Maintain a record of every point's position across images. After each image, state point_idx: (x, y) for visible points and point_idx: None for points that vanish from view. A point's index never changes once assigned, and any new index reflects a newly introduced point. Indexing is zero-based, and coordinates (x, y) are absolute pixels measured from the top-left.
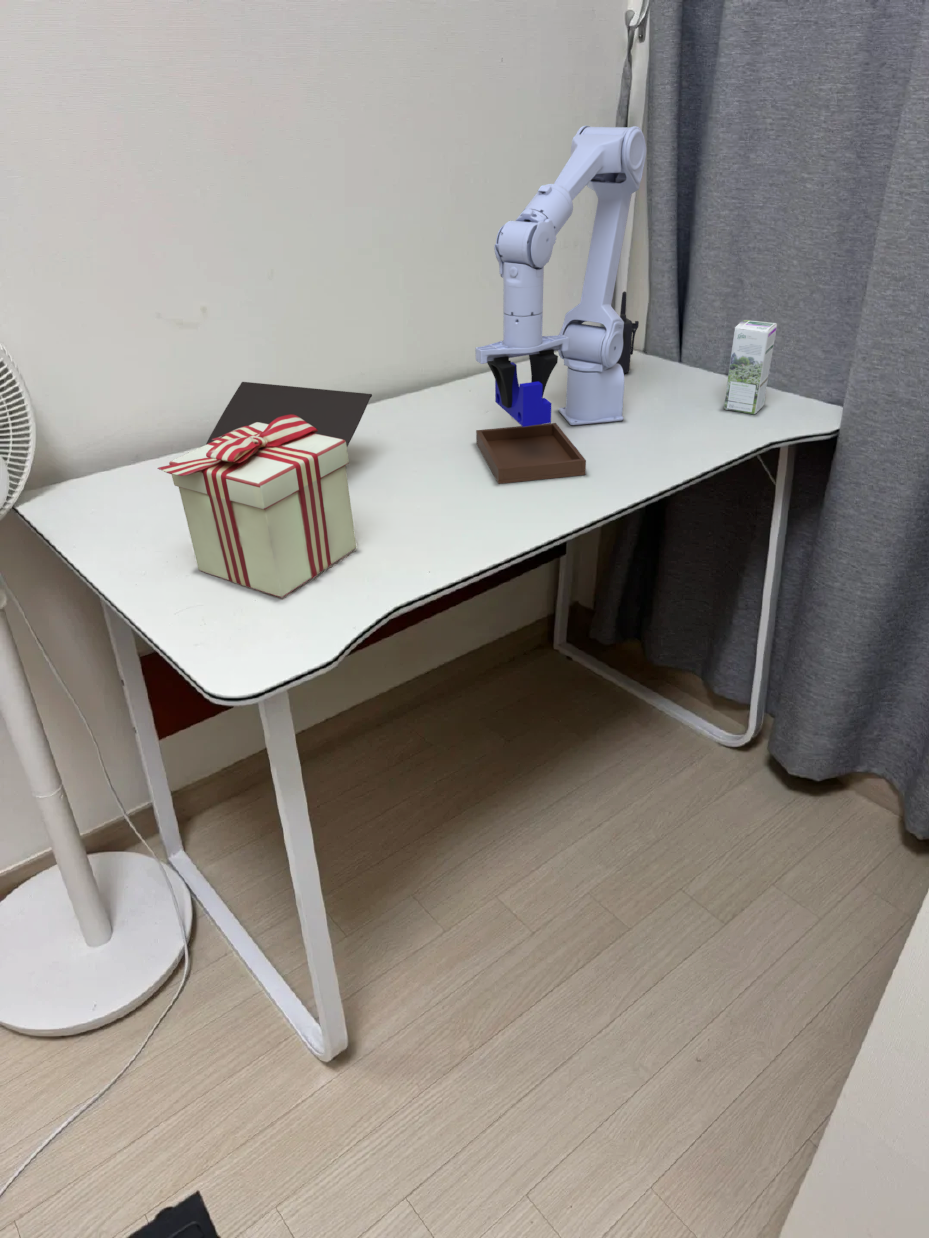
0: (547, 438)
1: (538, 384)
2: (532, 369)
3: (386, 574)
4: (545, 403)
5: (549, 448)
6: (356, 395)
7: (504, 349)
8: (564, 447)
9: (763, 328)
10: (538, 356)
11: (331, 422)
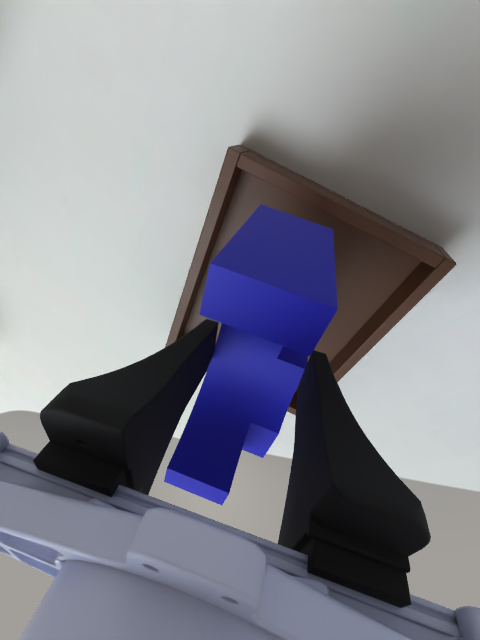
0: (392, 265)
1: (211, 499)
2: (315, 435)
3: (16, 383)
4: (249, 450)
5: (339, 310)
6: None
7: (47, 573)
8: (355, 338)
9: None
10: (293, 545)
11: None
